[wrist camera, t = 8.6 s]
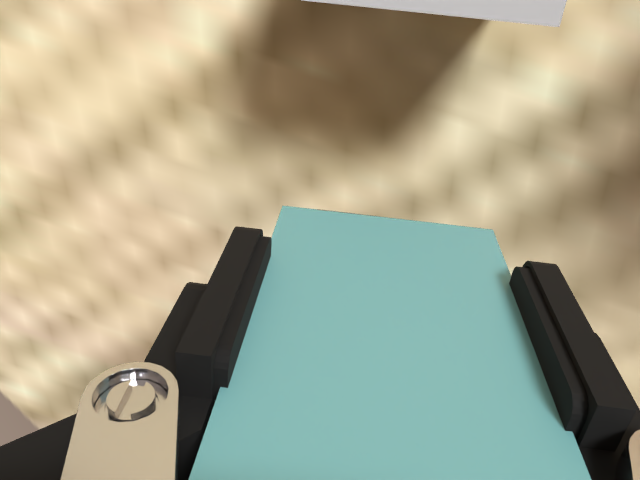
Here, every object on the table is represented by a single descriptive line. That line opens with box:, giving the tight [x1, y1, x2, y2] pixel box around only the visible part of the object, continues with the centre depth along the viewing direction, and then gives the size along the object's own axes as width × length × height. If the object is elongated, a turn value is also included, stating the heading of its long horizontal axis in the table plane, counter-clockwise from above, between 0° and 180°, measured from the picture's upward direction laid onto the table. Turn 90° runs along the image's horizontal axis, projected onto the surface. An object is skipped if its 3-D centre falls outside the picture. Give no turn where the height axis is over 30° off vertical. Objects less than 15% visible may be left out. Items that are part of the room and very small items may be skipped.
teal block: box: [189, 206, 591, 480], centre depth 9 cm, size 2×5×10 cm, turn 85°
